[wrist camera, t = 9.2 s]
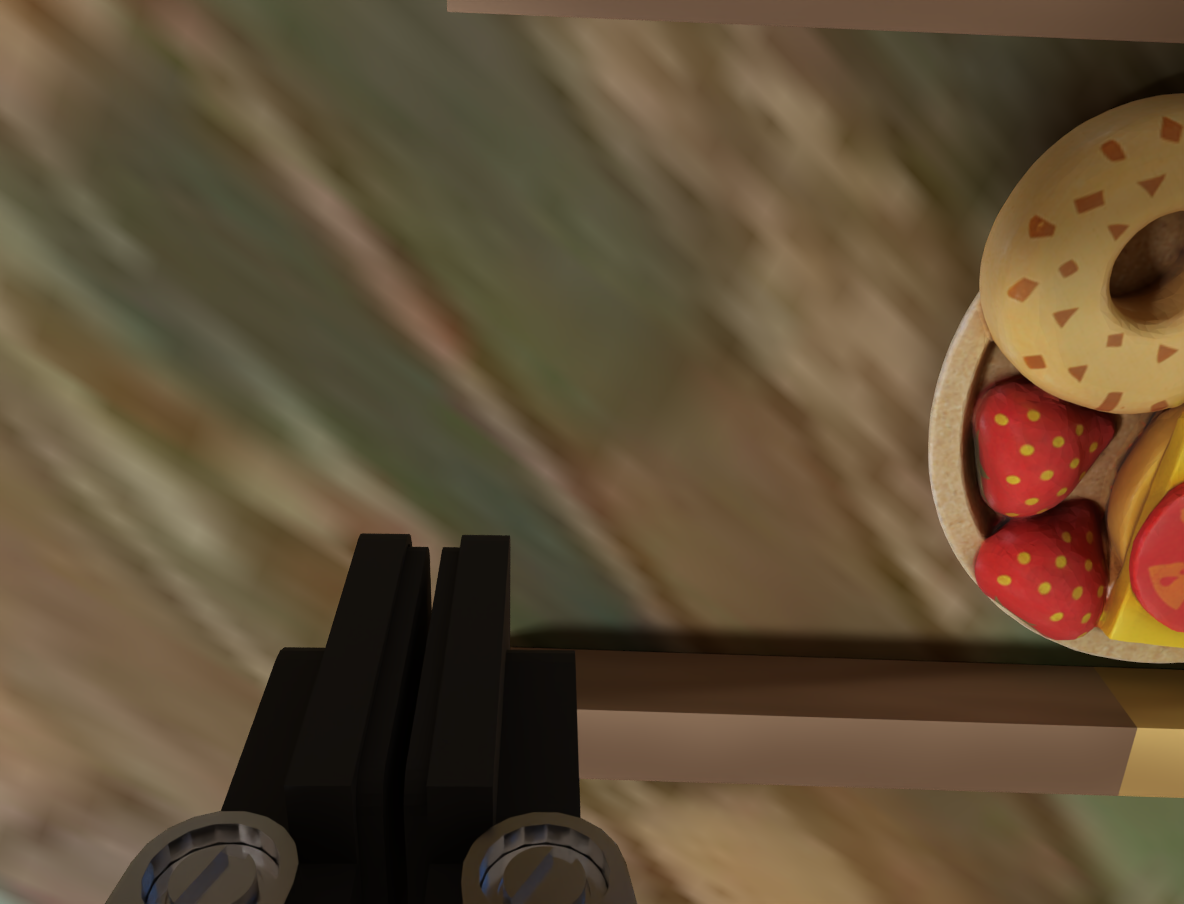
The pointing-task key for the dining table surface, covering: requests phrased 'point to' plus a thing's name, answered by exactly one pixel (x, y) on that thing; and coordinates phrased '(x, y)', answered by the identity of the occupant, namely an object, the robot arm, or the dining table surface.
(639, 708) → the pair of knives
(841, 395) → the dining table surface
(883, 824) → the dining table surface
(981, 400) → the toy food set
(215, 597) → the dining table surface
